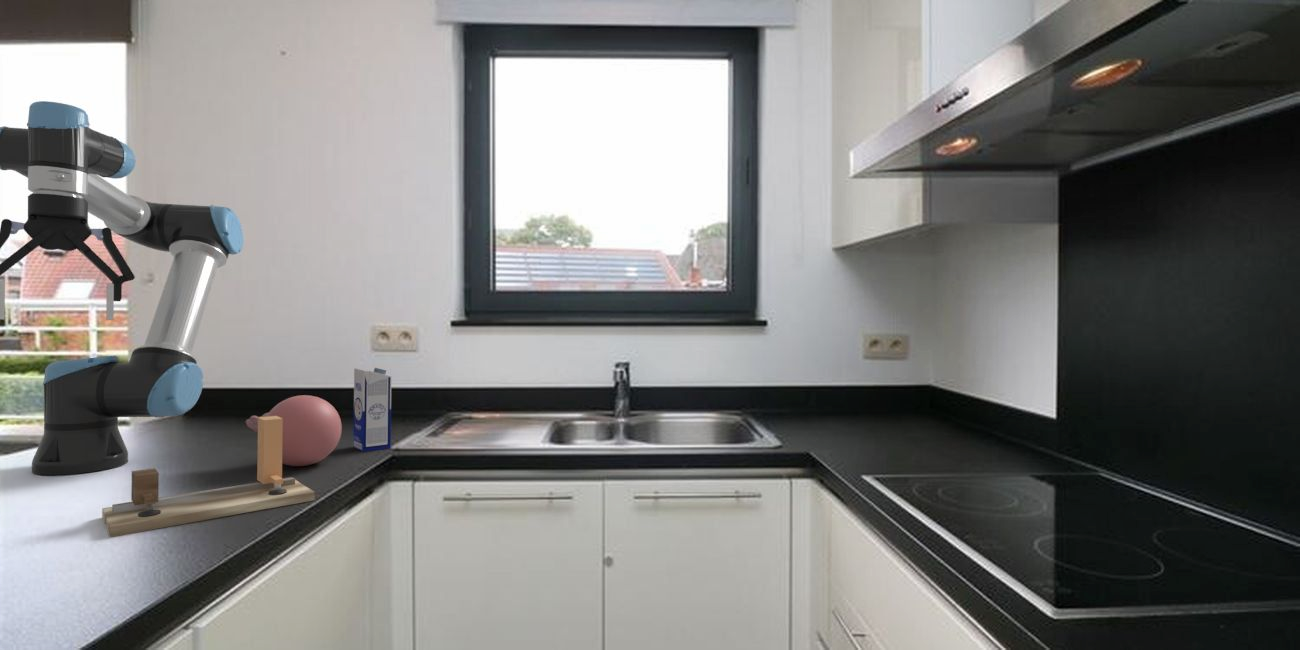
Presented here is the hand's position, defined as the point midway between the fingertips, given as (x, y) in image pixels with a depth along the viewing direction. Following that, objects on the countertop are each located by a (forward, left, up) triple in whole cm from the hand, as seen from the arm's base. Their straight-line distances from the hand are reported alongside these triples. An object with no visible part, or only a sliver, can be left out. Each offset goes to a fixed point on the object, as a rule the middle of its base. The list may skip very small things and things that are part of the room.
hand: (58, 319), depth 109 cm
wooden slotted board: (+21, +19, -32) cm, 42 cm away
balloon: (-4, +38, -32) cm, 50 cm away
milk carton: (-11, +58, -32) cm, 67 cm away
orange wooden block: (+20, +28, -29) cm, 45 cm away
